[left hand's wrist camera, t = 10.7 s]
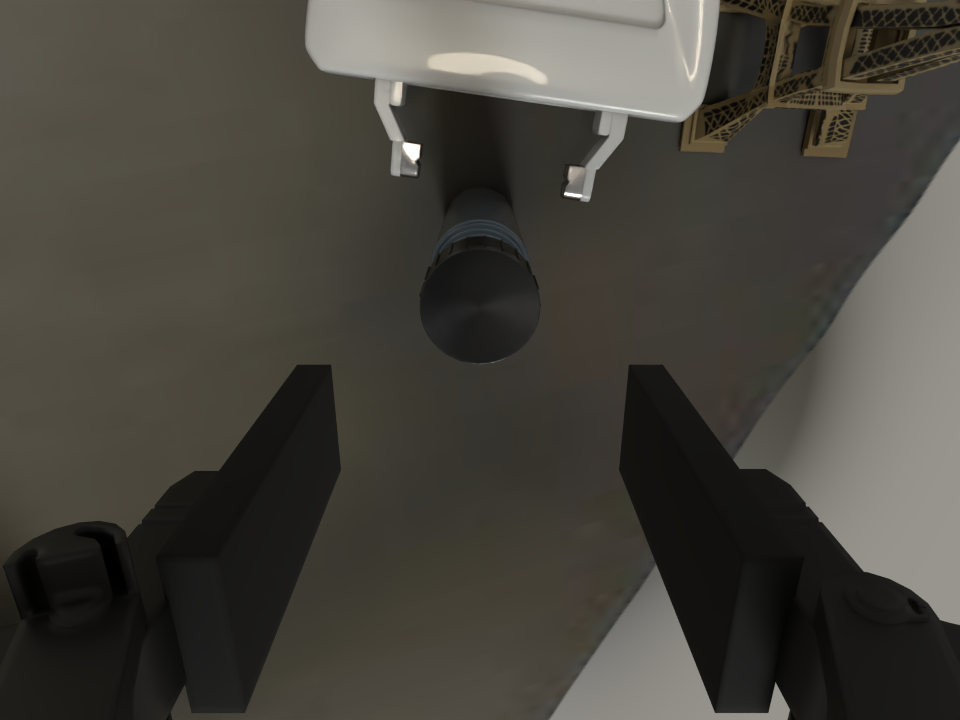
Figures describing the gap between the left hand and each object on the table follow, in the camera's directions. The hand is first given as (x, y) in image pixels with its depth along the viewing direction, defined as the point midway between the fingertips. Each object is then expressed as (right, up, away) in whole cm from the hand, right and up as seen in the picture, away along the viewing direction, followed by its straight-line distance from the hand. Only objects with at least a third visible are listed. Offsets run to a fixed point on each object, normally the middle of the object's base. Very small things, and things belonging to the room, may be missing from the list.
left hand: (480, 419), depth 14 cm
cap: (0, +3, +9) cm, 9 cm away
